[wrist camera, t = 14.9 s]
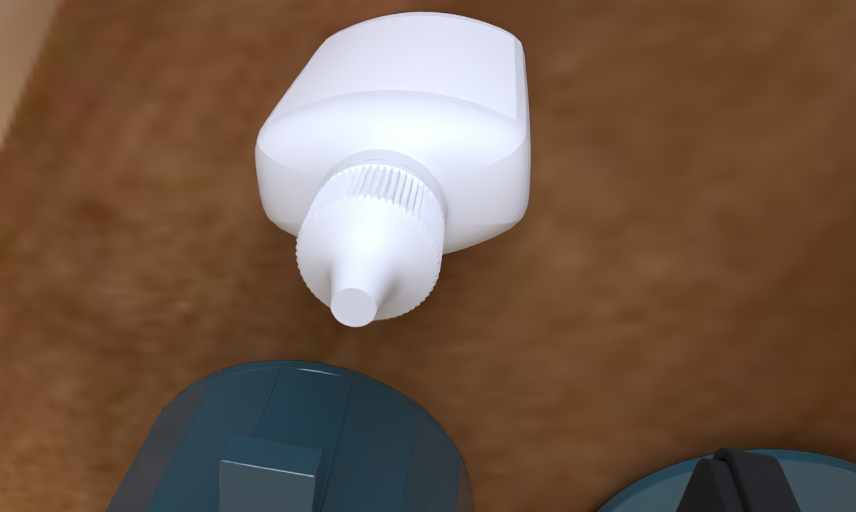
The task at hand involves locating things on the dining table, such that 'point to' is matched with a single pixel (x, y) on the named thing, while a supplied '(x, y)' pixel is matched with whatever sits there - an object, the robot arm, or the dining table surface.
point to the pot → (294, 447)
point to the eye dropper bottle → (397, 157)
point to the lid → (805, 471)
